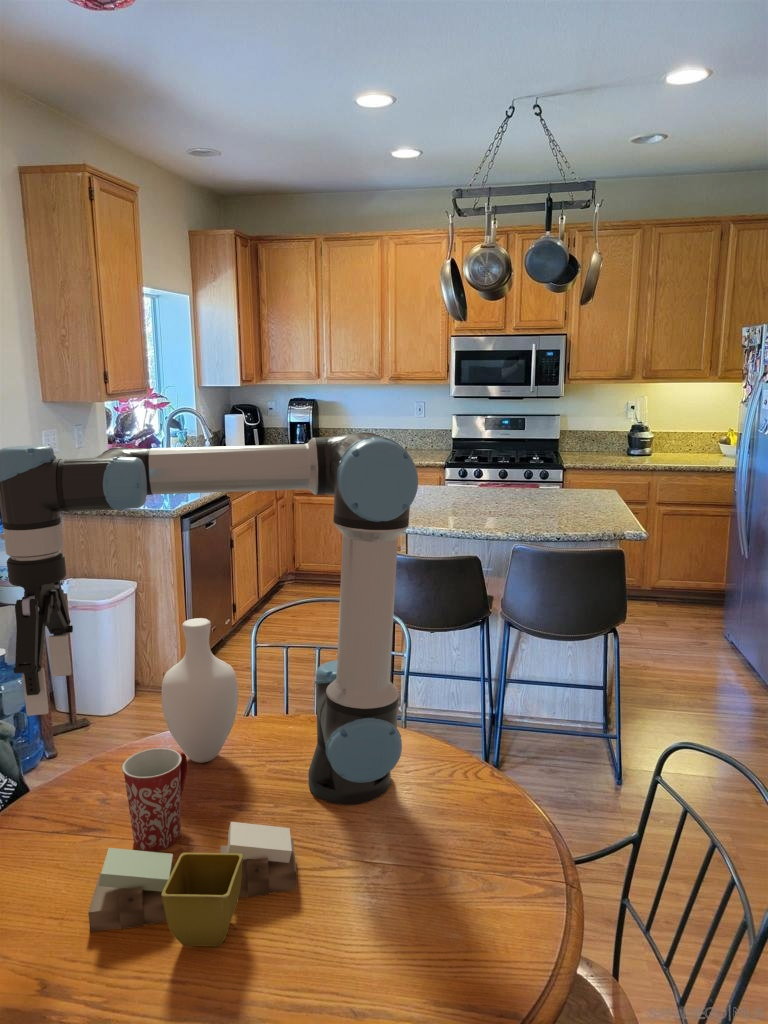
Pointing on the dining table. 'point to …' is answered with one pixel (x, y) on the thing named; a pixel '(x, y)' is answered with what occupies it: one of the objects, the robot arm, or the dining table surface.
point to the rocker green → (136, 869)
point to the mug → (155, 796)
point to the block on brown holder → (267, 875)
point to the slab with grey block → (125, 907)
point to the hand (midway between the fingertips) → (50, 693)
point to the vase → (199, 696)
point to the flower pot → (202, 897)
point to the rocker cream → (260, 841)
